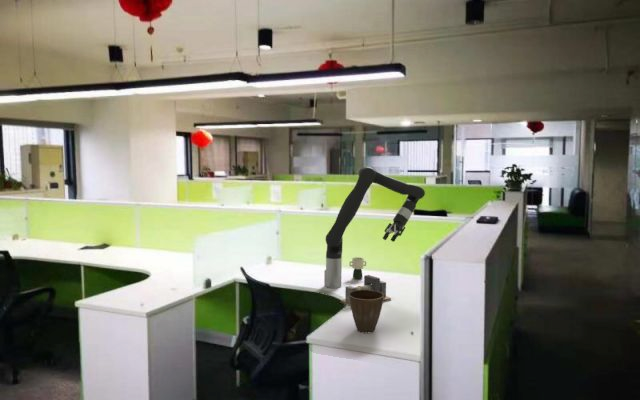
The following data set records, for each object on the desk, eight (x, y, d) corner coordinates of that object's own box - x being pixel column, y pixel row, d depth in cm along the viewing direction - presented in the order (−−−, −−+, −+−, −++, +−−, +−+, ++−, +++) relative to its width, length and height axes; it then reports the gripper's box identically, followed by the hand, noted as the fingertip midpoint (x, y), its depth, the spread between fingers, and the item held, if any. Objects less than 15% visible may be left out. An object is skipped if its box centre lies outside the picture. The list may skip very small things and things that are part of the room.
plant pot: (380, 338, 199) (380, 300, 198) (345, 334, 203) (345, 297, 202) (385, 326, 214) (385, 291, 212) (352, 323, 218) (353, 288, 216)
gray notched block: (368, 291, 259) (368, 274, 259) (379, 294, 252) (379, 278, 252) (364, 291, 258) (364, 275, 257) (375, 295, 250) (375, 279, 250)
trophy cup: (364, 277, 307) (364, 257, 306) (367, 279, 300) (367, 259, 299) (348, 277, 305) (348, 257, 304) (350, 280, 298) (350, 259, 297)
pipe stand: (375, 295, 265) (376, 279, 264) (391, 300, 255) (391, 283, 255) (340, 302, 250) (340, 285, 250) (355, 307, 241) (355, 290, 240)
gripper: (391, 212, 279) (376, 235, 276) (405, 213, 266) (390, 237, 263) (400, 219, 282) (385, 242, 278) (414, 221, 269) (399, 245, 265)
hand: (388, 240), depth 270 cm, fingers open, 8 cm apart
